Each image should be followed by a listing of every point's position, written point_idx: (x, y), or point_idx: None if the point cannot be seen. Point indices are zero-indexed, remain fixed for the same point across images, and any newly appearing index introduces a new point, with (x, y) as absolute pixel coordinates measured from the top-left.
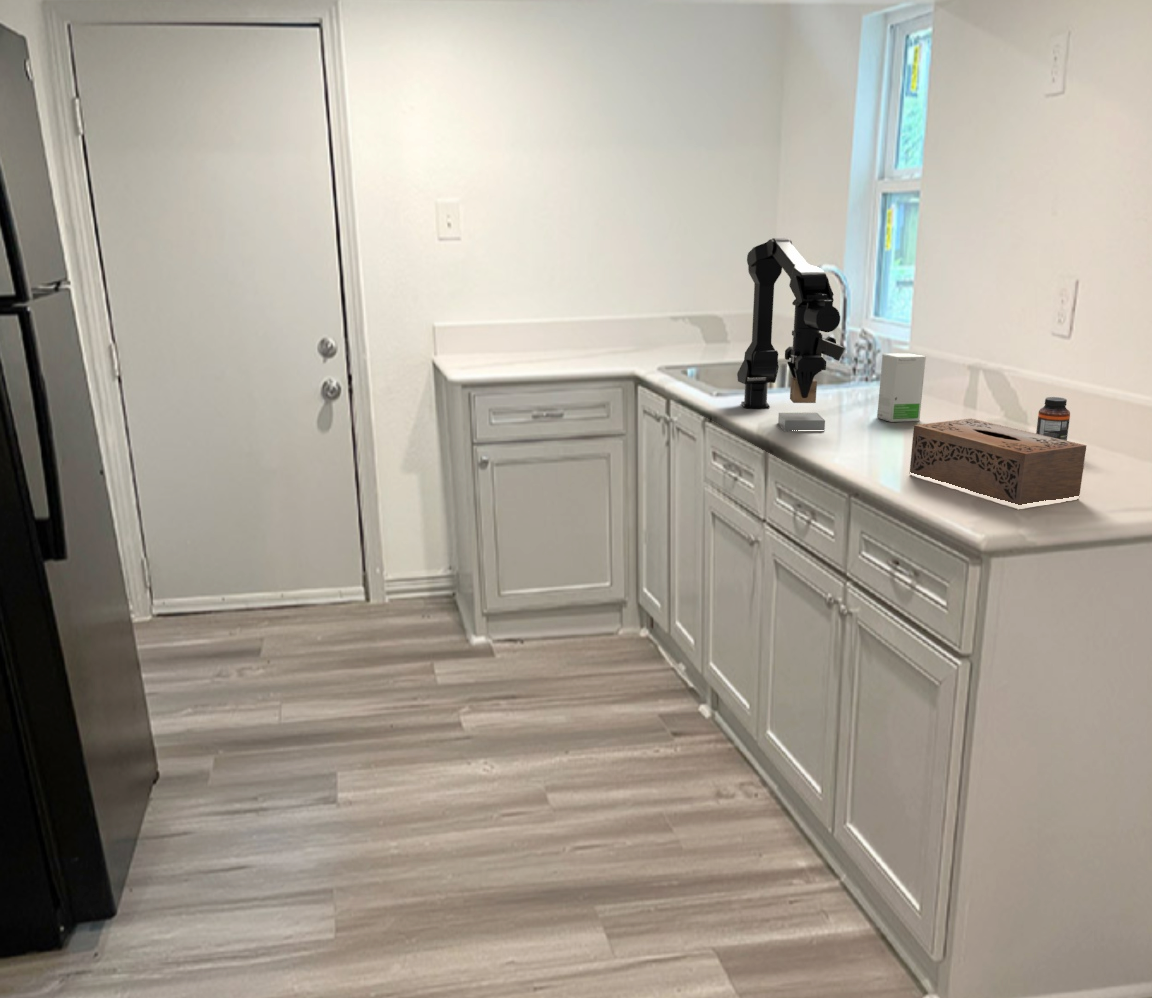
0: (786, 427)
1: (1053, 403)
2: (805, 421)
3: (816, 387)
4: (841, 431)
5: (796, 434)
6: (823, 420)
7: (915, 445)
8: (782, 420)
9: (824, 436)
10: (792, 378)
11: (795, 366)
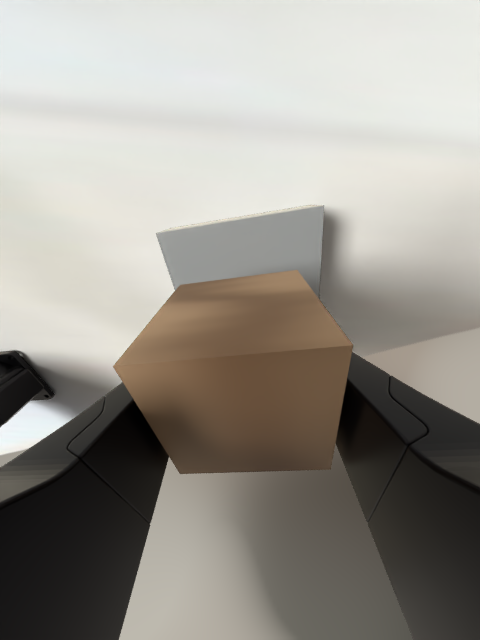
0: None
1: None
2: (318, 285)
3: (326, 311)
4: (308, 119)
5: (350, 299)
6: (323, 213)
7: None
8: None
9: (396, 209)
10: (216, 471)
11: (106, 590)
